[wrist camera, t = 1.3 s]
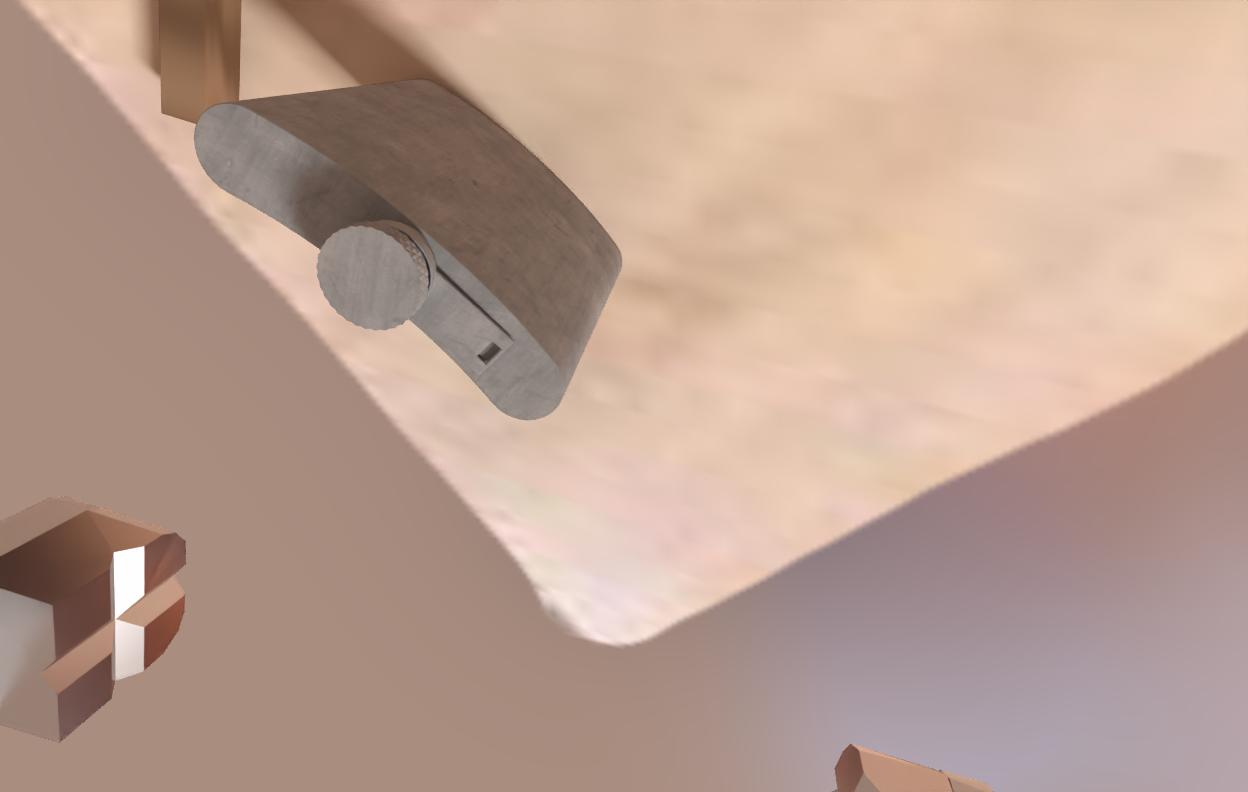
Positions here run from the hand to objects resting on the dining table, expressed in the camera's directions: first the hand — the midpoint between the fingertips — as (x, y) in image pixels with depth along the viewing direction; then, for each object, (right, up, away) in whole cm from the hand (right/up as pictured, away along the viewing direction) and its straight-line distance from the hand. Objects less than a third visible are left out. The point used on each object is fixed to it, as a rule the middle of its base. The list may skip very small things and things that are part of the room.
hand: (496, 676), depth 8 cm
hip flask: (-5, +16, +33) cm, 37 cm away
